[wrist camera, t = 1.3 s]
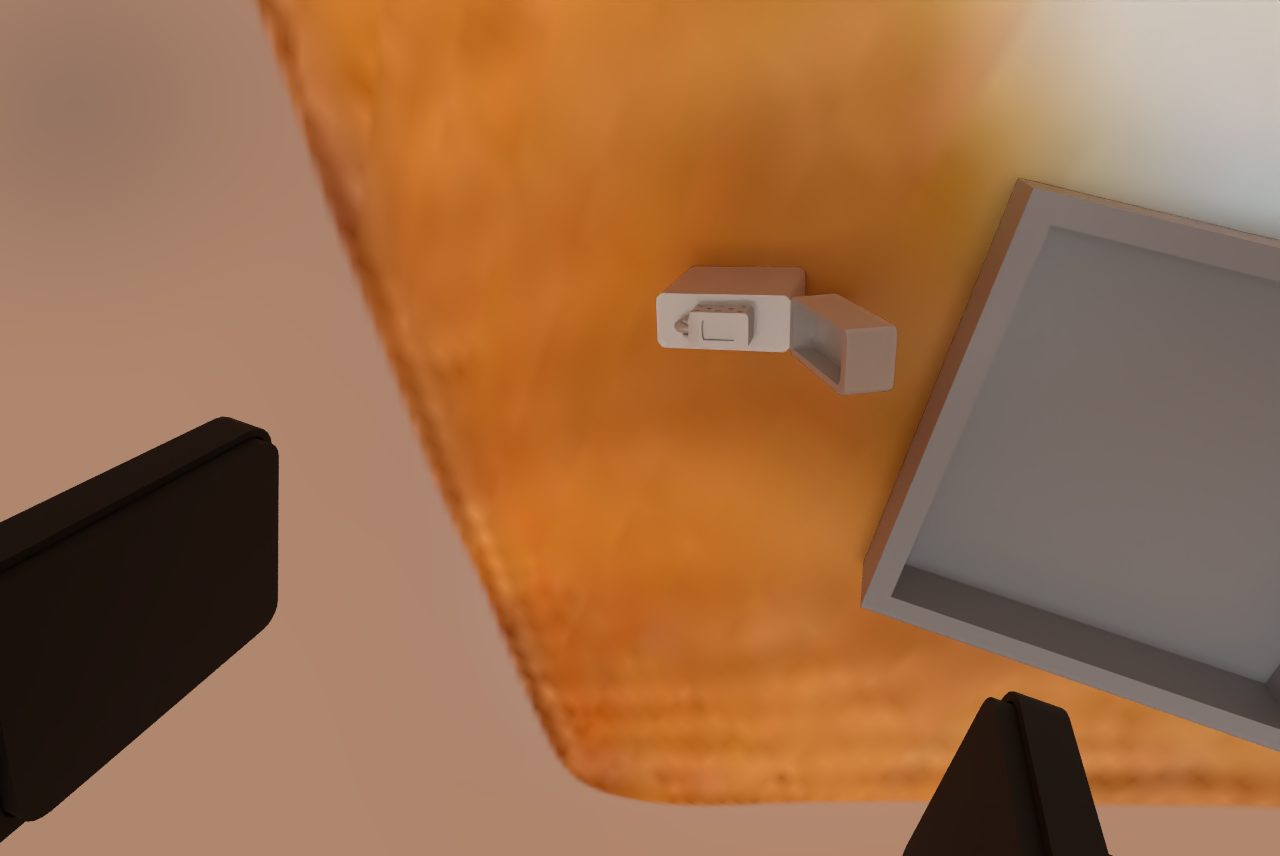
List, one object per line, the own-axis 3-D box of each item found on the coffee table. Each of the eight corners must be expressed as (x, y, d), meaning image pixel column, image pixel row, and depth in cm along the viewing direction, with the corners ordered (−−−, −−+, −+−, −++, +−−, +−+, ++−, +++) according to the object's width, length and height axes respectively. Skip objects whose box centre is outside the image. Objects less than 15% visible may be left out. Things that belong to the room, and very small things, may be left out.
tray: (1564, 309, 22) (1657, 339, 19) (1271, 699, 28) (1310, 762, 25) (1018, 177, 24) (1033, 188, 22) (863, 562, 31) (860, 606, 28)
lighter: (688, 313, 29) (622, 385, 22) (687, 266, 28) (618, 324, 21) (893, 319, 27) (893, 400, 20) (897, 268, 26) (898, 333, 19)
